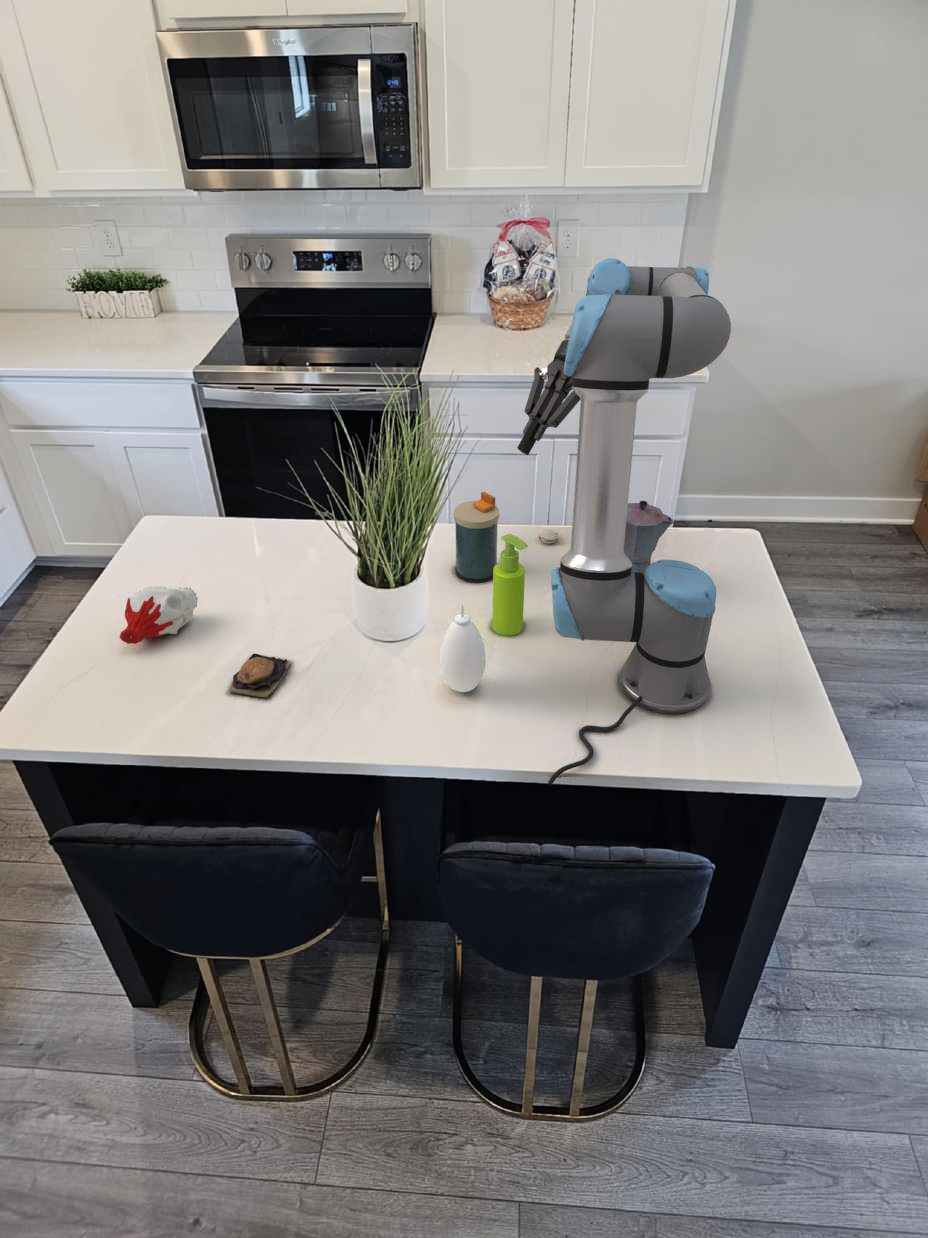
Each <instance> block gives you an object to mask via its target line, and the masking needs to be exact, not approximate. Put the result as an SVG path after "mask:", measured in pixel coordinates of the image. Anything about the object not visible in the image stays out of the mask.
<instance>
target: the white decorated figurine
mask: <svg viewBox="0 0 928 1238" xmlns="http://www.w3.org/2000/svg"><path fill="white" fill-rule="evenodd" d="M198 599H199V598H198V596H197V592H195V590H194V589H192V587H188V586H185V587H181V586H179V587H176V588H172V587H169V588H168V587H166V586H161V585H159V586H158V585H152V586H147V587H145V588H144V589H142V590H139V591H137V592H135V593H133V594H132V596H130V597H128V598H127V600H126V605H125V610H124V619H125V621H126V624H127V627H125V629H123V630H122V631H120V633H119V639H120V640H121V641H123V642H124V643H126V644H139V643H141V642H142V641H143V640H144V639H148V638H150V639H156V638H159V637H162V636H164V635H167V634H170V635H171V634H172V635H177V634H178V631H179V630H180V629H181V628H182V627H184V626H185V625H186V624H187V623H188V622H189V621H190V620H191V619H192V617H193V615H194V610H195V609H196V608H197V607H198Z"/></svg>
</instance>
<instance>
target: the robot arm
mask: <svg viewBox="0 0 928 1238" xmlns="http://www.w3.org/2000/svg"><path fill="white" fill-rule="evenodd" d="M709 277H710V276H709V271H708V270H707V269H706V268H701V267H694V266H686V267H682V266H681V267H678V266H677V267H676V266H670V267H669V266H668V267H666V266H663V267H662V266H635V265H634V266H632V265H631V266H630V265H626V263H624V262H623V261H622V260H620V259H617V258H613V257H608V258H604V259H602V260H600V261H599V262H597V263H596V264H595V265H594V267H593V268H592V270H591V271H590V273H589V276H588V279H587V284H586V293H585V296H582V297H581V298H580V299H579V300H578V301H577V302H576V305H575V308H574V312H573V316H572V322H571V324H570V326H569V327H568V330H567V331H566V333H565V335H564V340H561V342H560V344H559V346H558V348H557V350H556V351H555V353H554V357H553V360H552V361H551V362H549V363H548V365H547V366H546V367H543V368H539V367H535V368H534V370H533V372H534V373H533V374H534V375H533V381H532V384H531V387H530V390H529V395H528V397H527V401H526V404H525V408H524V413H525V415H527V416H528V421H527V423H526V424H525V426H524V428H523V430H522V434H523V436H522V438H521V440H520V442H519V443H518V446H517V447H516V448H517V450H519V451H520V452H521V453H522V454H524V455H526V456H529V455H530V453H531V451H532V450H533V447H534V445H535V444H536V442H540V441H541V440H542V437H543V436H544V434H545V433H546V431H547V429H548V428H553V429H556V428H559V426H560V424H561V423H562V422H563V421H564V420H565V419H566V418H567V416H568V415H569V414H570V413H571V412H572V411H573V409H574V408H575V407H576V406H577V405H578V403H579V402H580V405H579V419H578V420H579V422H578V433H577V435H578V437H577V449H576V450H577V451H576V465H575V478H574V479H575V481H574V494H573V495H574V496H573V509H572V522H571V523H572V524H571V538H570V548H569V550H568V551H567V552H565V553H564V554H563V555H562V556H561V557H560V564H559V565H560V566H557V567H555V568H554V567H553V568H552V569H551V571H550V578H551V600H552V612H553V622H554V629H555V632H556V633H557V634H558V635H559V636H560V637H562V638H567V639H575V640H580V641H583V642H584V641H603V642H619V643H620V642H621V643H622V642H623V643H635V644H634V646H633V648H632V649H631V651H630V653H629V655H628V657H626V660H625V661H624V663H623V665H622V667H621V669H620V678H619V684H620V688H621V690H622V692H623V693H624V695H625V696H626V697H627V698H628V699H629V700H630V701H631V702H632V703H631V704H630V705H629V706H628V707H627V708H626V709H625V710H624V711H623V712H622V714H621V715H620V717H619V719H618V720H617V721H616V722H615V723H614V724H612V725H610V726H598V725H585V726H582V727H581V729H580V730H579V732H578V736H579V739H580V740H581V741H582V743H583V744H584V745H585V747H586V748H587V750H588V754H587V755H586V756H585V757H584V758H583V759H581V760H578V761H575V762H574V761H573V762H571V763H569V764H566V765H564V766H561V767H560V768H558V769H557V770H556V771H555V772H554V773H553V774H552V775H551V776H550V778H549V780H548V781H547V784H548V785H553V784H554V783H555V781H556V779H557V778H558V777H559V776H560V775H562V774H563V773H565V772H567V771H569V770H571V769H575V768H578V767H581V766H584V765H586V764H587V763H589V762H590V761H591V760H592V759H593V756H594V754H595V752H594V748H593V745H591V743H590V742H589V740H588V739H587V738H586V736H585V735H584V734H585V732H587V731H595V732H611V731H614V730H616V729H617V728H618V727H620V726H621V725H622V723H623V722H624V720H625V719H626V718H627V716H628V715H629V714H631V712H632V711H633V710H634V709H635V708H636V707H637V706H639V707H641V708H643V709H646V710H648V711H651V712H655V713H658V714H659V713H661V714H667V715H676V714H678V715H679V714H684V713H689V712H691V711H695V710H696V709H699V707H701V706H702V705H703V704H704V703H705V701H706V700H707V698H708V696H709V692H710V686H711V681H710V676H709V670H708V665H707V661H706V660H707V659H706V652H707V651H706V650H707V646H708V641H709V636H710V631H711V626H712V621H713V616H714V614H715V612H716V599H717V587H716V585H715V582H714V580H713V579H712V578H711V576H709V574H708V573H706V572H705V571H704V570H702V569H700V568H699V567H697V566H696V565H694V564H691V563H689V562H686V561H682V560H678V559H668V558H667V559H659V560H657V561H653V562H651V564H650V565H649V566H648V567H647V569H646V570H645V573H638V572H631V570H632V562H631V560H630V559H629V558H628V557H627V556H626V555H625V554H624V541H625V530H626V519H627V508H628V503H629V496H630V495H629V494H630V483H631V475H632V474H631V473H632V463H633V452H634V451H633V450H634V440H635V429H636V418H637V416H636V415H637V408H638V407H637V406H638V402H639V400H640V399H641V398H643V396H645V394H647V393H648V392H649V389H650V388H649V387H650V379H675V378H681V377H682V378H683V377H687V376H690V375H692V374H694V373H697V372H700V371H701V370H703V369H705V368H706V367H708V366H709V365H711V364H713V362H714V361H716V360H717V359H718V357H720V355H722V353H723V352H724V350H725V349H726V347H727V346H728V343H729V340H730V339H731V338H730V337H731V333H732V322H731V318H730V315H729V313H728V311H727V309H726V307H725V306H724V305H723V303H721V301H719V299H717V298H715V297H714V296H711V295H709V289H710V288H709V287H710V278H709ZM546 380H547V381H546ZM545 381H546V382H545ZM543 388H544V389H543Z"/></svg>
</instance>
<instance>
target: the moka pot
mask: <svg viewBox="0 0 928 1238" xmlns="http://www.w3.org/2000/svg"><path fill="white" fill-rule="evenodd" d="M673 524H675V521H674V519H673V517H670V516H669V515H667V514H665V513H663V511H662V510H661V508H660V507H658V506H654V505H651V504H648V501H647V500H640V501H639V502H628V508H627V519H626V530H625V541H624V554H625V555H626V556H627V557H628V558H629V559H630V560H631V562H632V570H631V572H638V573H645V570H646V569H647V567H648V566H649V565H650V564H651V563H652V556H653V552H655V550H656V549H657V546H658V544H659V540H660V538H661V537H662V536H663V535H664V533H665V532H666V531H667V530H668V528H670V526H671V525H673Z"/></svg>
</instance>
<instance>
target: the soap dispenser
mask: <svg viewBox="0 0 928 1238" xmlns="http://www.w3.org/2000/svg"><path fill="white" fill-rule="evenodd" d="M500 540H502V541H503V542H504V543H505V544H504V549H502V550H501V551H500V555H499V557H500V558H499V563H497V565H495V566H494V568H493V579H492V615H491V616H492V621H491V622H492V623H491V624H492V625H491V629H492V630H493V631H494V632H495V633H496V634H498V635H501V636H508V637H509V636H515V635H517V634H519V633H521V632H522V631H523V629H524V608H525V607H524V605H525V583H526V581H525V580H526V579H525V578H526V568H525V566H524V565H523V564H521V563H520V553H519V551H522V550H525V549H527V548H529V545H528V543H526V542H525V541H524V540H522V539H521V538H520V537H518V536H517V535H514V534H512V533H506V534H503V535H501V536H500ZM515 548H516V549H515Z"/></svg>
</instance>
